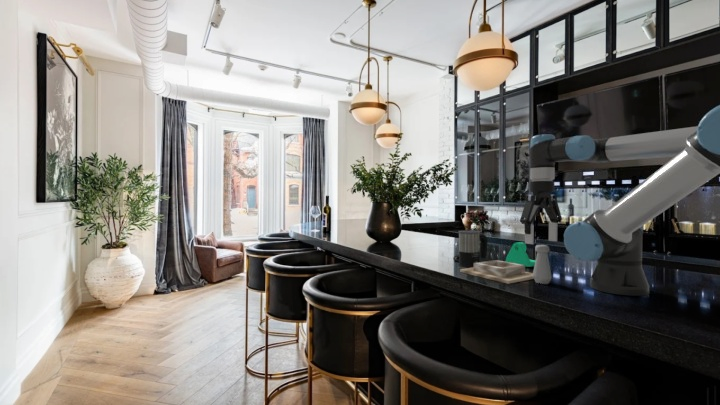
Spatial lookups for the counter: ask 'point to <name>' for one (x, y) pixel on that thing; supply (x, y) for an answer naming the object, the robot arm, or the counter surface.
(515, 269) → the socket holder
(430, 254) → the counter surface
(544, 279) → the salt shaker
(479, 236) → the milk frother
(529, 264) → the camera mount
